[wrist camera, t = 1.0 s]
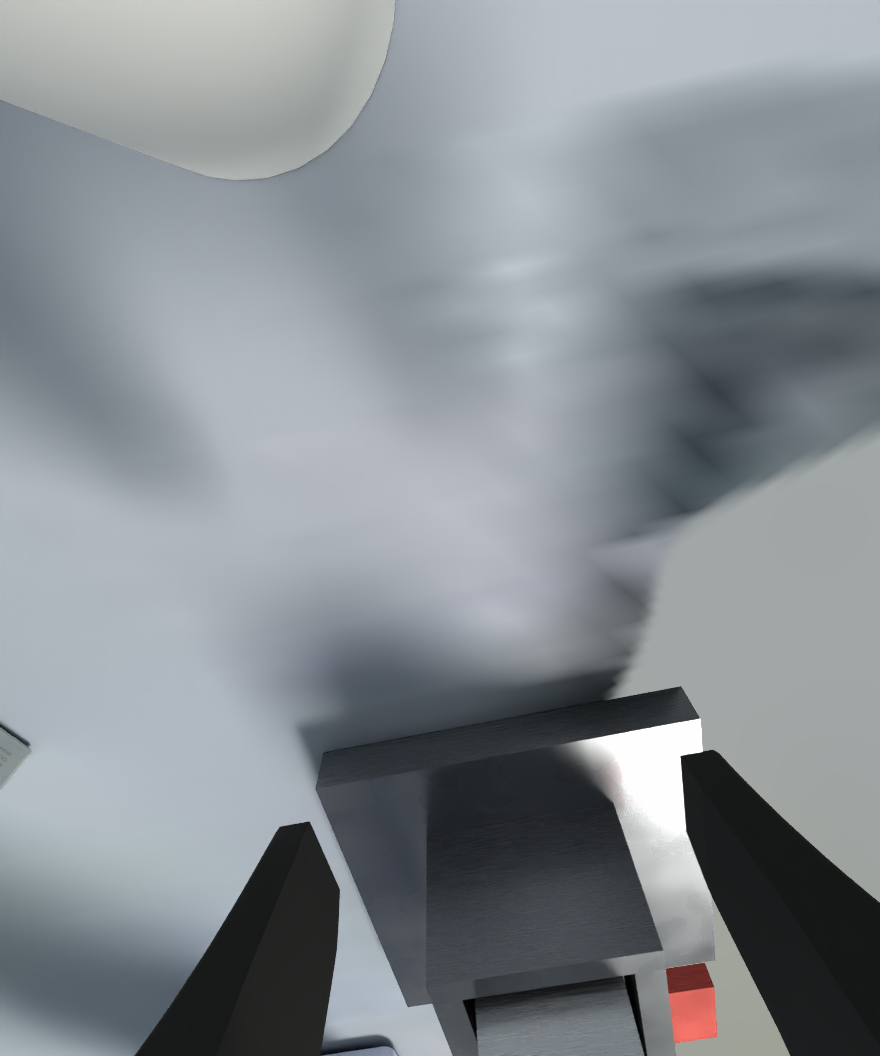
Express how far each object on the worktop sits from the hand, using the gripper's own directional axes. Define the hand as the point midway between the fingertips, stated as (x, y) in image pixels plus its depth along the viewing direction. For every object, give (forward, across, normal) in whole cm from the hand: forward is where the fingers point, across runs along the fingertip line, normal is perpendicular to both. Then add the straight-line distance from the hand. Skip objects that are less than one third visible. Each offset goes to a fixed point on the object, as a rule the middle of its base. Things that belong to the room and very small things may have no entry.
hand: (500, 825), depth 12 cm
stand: (+7, 0, +10) cm, 12 cm away
